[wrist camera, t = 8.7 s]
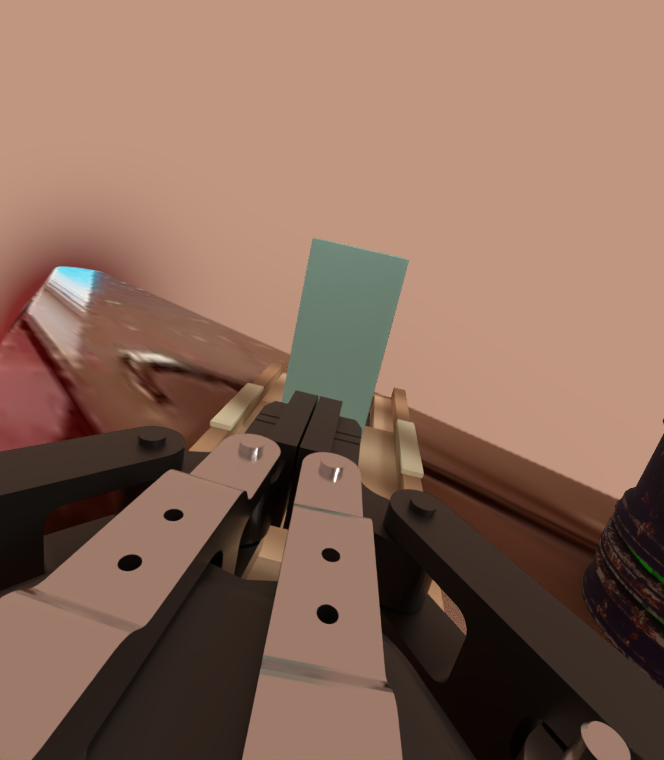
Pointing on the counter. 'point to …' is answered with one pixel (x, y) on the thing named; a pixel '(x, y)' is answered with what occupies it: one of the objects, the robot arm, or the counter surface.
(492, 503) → the counter surface
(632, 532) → the navy cylinder
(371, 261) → the teal block
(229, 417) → the box
